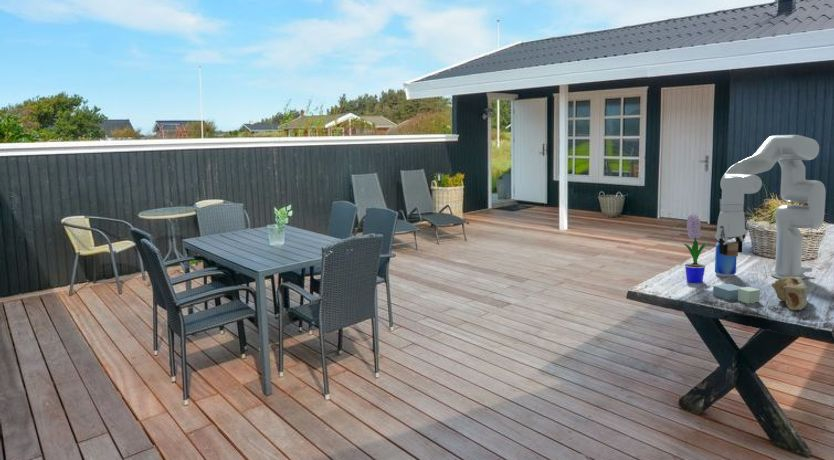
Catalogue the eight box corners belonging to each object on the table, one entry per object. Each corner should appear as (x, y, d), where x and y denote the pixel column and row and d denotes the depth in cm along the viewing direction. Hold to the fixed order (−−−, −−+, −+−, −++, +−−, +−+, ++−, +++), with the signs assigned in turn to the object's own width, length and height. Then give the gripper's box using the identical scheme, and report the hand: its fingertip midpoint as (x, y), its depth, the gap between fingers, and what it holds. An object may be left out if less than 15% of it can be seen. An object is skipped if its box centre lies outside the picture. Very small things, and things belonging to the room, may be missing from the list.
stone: (824, 312, 199) (826, 284, 198) (787, 312, 202) (788, 284, 200) (803, 299, 216) (805, 273, 214) (769, 298, 218) (770, 273, 217)
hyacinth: (712, 283, 242) (714, 214, 237) (686, 283, 244) (688, 215, 240) (706, 278, 251) (708, 212, 246) (681, 278, 253) (683, 212, 248)
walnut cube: (737, 256, 218) (738, 243, 217) (723, 255, 220) (723, 243, 219) (737, 254, 222) (738, 241, 221) (723, 253, 225) (723, 241, 224)
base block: (729, 293, 229) (729, 283, 228) (745, 298, 221) (745, 288, 220) (712, 295, 227) (713, 285, 226) (728, 300, 219) (729, 290, 218)
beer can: (733, 273, 258) (735, 238, 255) (737, 277, 250) (739, 242, 248) (713, 272, 261) (714, 238, 258) (716, 276, 253) (717, 241, 250)
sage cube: (748, 299, 219) (748, 286, 218) (759, 302, 214) (759, 289, 213) (737, 300, 218) (738, 288, 217) (748, 304, 213) (749, 291, 212)
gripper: (740, 205, 225) (738, 249, 227) (707, 209, 219) (705, 254, 222) (757, 207, 218) (755, 252, 220) (723, 211, 212) (722, 257, 215)
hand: (730, 252), depth 221 cm, fingers closed on walnut cube, 7 cm apart
